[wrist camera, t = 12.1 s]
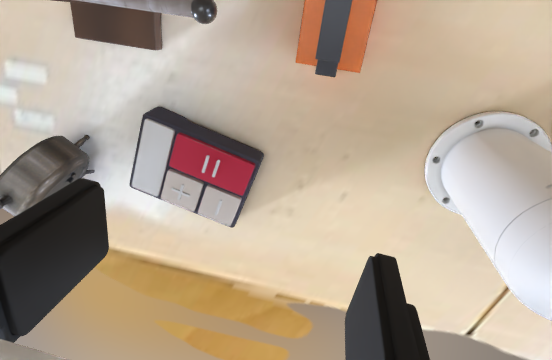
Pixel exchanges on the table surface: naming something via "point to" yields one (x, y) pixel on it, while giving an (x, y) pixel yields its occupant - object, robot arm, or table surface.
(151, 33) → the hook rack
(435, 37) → the table surface
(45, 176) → the alarm clock
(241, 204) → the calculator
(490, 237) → the robot arm
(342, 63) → the orange square box
